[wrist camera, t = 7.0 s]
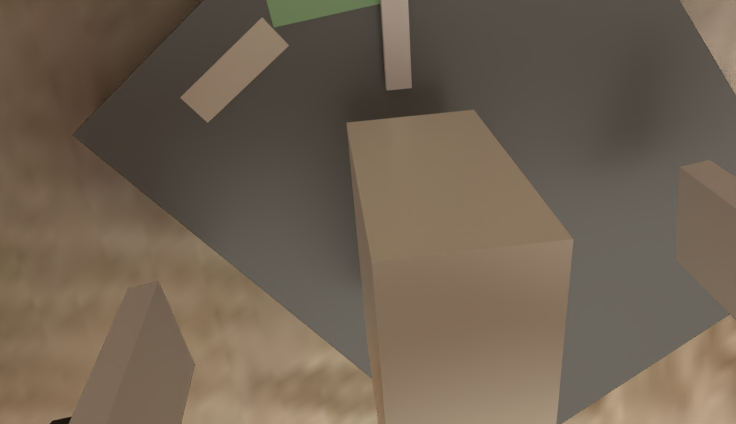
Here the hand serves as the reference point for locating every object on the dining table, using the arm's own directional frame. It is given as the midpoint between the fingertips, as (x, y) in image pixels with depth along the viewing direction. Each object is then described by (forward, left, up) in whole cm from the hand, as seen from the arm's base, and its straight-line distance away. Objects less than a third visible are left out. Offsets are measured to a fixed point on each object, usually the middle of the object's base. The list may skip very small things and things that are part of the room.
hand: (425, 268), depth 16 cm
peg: (-2, +2, -4) cm, 5 cm away
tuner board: (+2, +2, -6) cm, 7 cm away
